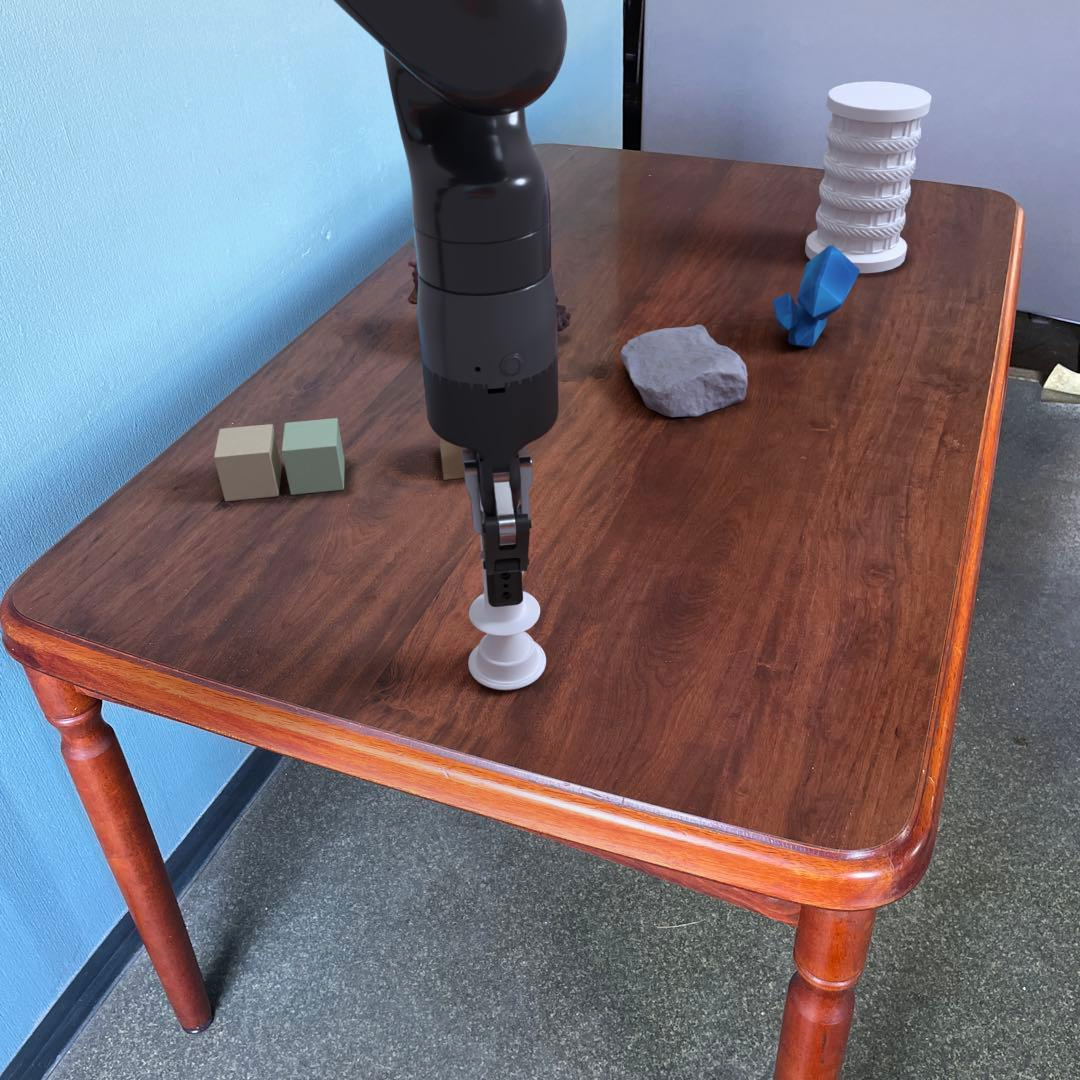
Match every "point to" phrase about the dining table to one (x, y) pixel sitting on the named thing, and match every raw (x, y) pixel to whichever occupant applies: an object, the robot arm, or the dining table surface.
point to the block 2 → (313, 456)
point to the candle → (505, 642)
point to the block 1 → (248, 462)
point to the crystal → (816, 296)
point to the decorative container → (868, 172)
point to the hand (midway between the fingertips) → (503, 586)
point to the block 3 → (451, 460)
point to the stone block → (684, 371)
